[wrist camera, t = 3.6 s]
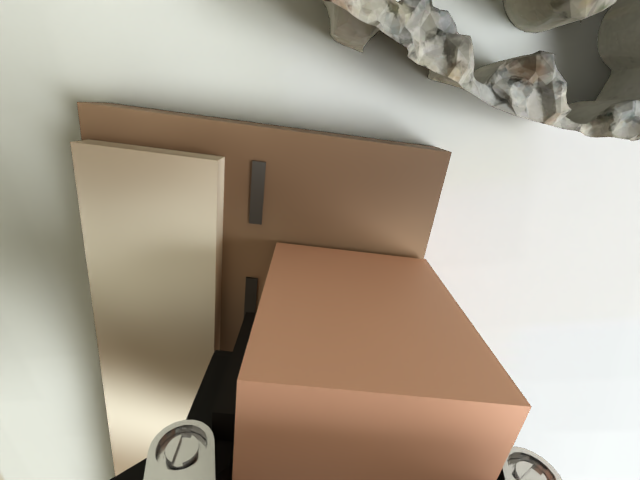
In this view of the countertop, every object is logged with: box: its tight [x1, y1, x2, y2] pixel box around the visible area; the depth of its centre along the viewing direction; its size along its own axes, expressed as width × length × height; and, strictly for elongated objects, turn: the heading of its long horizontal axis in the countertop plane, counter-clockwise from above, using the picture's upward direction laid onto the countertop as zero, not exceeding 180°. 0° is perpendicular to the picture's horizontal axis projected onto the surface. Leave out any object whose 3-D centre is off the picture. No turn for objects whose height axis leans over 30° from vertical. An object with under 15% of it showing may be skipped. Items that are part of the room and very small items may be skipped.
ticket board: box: [70, 102, 452, 476], centre depth 15 cm, size 28×11×2 cm, turn 173°
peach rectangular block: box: [232, 242, 531, 480], centre depth 10 cm, size 7×5×6 cm
